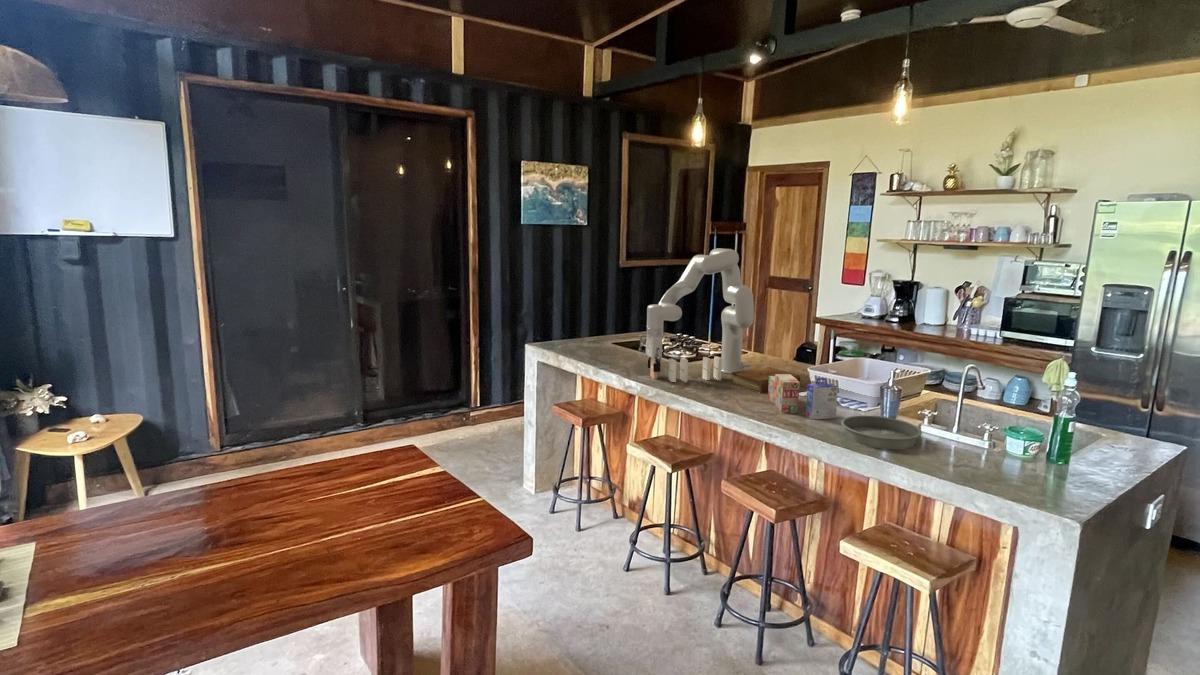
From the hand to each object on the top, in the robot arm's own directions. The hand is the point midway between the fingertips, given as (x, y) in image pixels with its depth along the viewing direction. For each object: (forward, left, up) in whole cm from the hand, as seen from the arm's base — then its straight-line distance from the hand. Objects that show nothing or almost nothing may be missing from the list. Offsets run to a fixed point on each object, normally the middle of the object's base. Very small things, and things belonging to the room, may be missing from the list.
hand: (653, 369), depth 288 cm
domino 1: (-12, +8, -4) cm, 15 cm away
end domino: (-28, +8, -4) cm, 29 cm away
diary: (-44, +23, -5) cm, 50 cm away
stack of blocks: (-35, +53, -4) cm, 63 cm away
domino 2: (-23, +8, -4) cm, 24 cm away
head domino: (-6, +8, -4) cm, 11 cm away
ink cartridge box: (-41, +70, -4) cm, 81 cm away
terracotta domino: (0, 0, -4) cm, 4 cm away
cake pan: (-47, +95, -4) cm, 106 cm away
